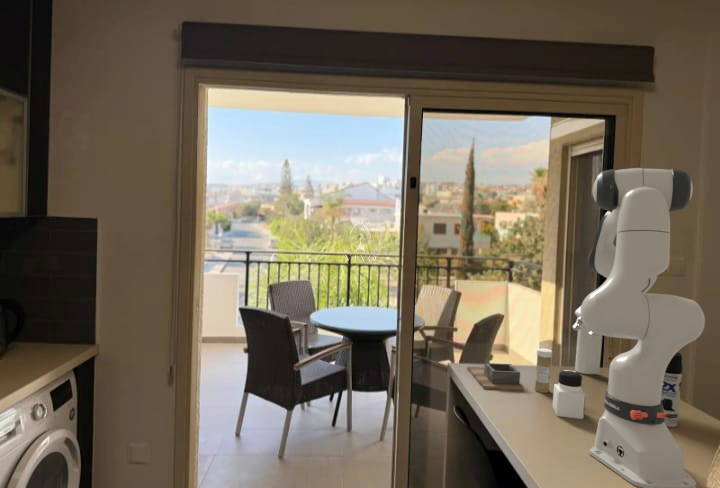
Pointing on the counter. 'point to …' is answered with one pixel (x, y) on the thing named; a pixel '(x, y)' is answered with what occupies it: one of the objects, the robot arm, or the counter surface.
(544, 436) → the counter surface
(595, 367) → the paper towel roll
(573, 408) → the medicine bottle
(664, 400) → the spray can
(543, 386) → the sprinkles bottle
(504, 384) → the socket block
